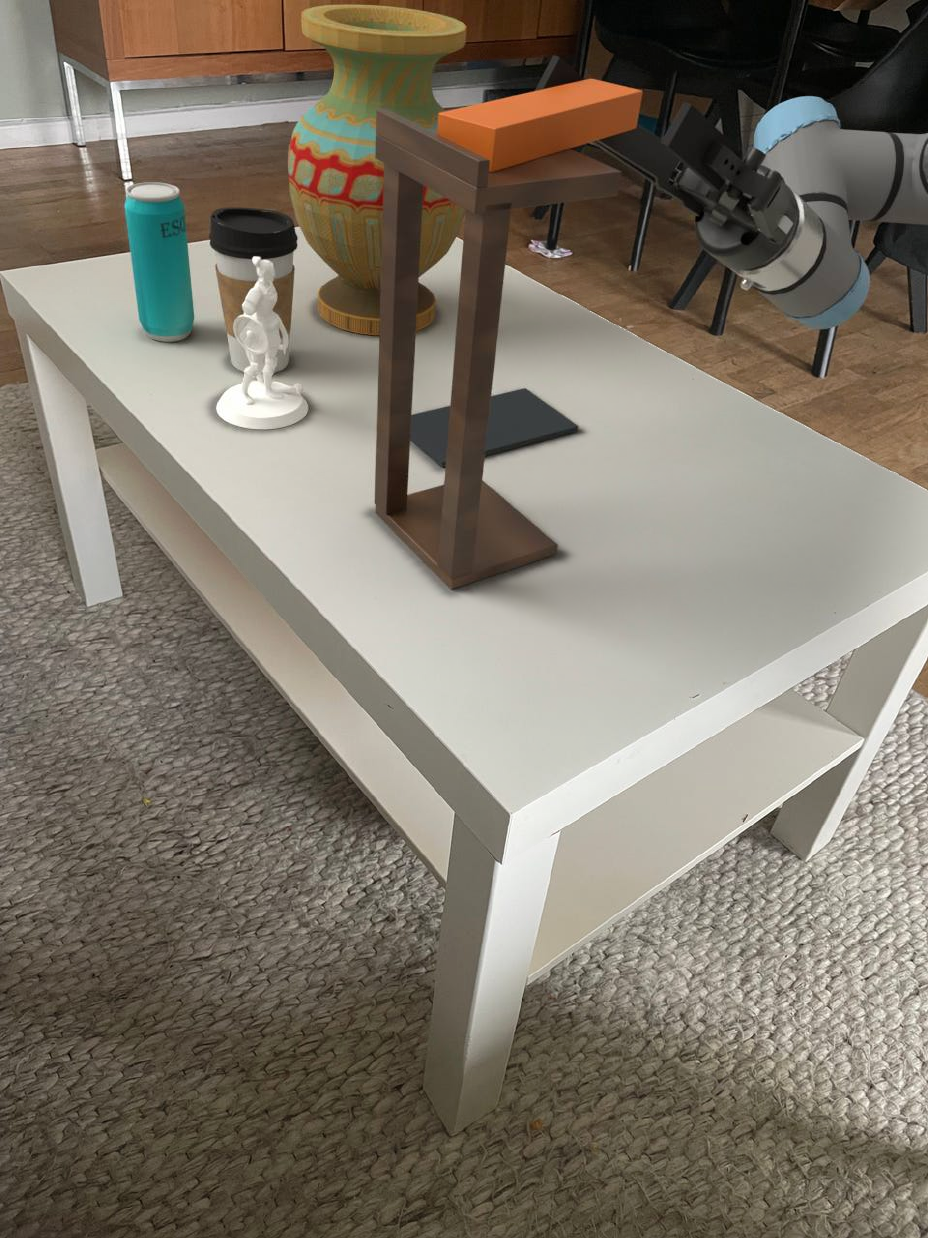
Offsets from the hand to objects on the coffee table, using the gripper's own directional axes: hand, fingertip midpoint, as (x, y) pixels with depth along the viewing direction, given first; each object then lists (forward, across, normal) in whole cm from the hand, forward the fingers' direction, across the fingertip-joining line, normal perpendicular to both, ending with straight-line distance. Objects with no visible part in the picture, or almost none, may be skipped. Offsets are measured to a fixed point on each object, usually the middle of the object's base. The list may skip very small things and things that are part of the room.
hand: (606, 97), depth 67 cm
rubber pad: (-20, +14, -27) cm, 36 cm away
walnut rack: (-9, 0, -33) cm, 34 cm away
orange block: (+2, +1, -4) cm, 5 cm away
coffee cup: (-8, +36, -34) cm, 50 cm away
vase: (-23, +43, -25) cm, 55 cm away
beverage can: (-2, +47, -37) cm, 59 cm away
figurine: (-4, +27, -36) cm, 45 cm away
